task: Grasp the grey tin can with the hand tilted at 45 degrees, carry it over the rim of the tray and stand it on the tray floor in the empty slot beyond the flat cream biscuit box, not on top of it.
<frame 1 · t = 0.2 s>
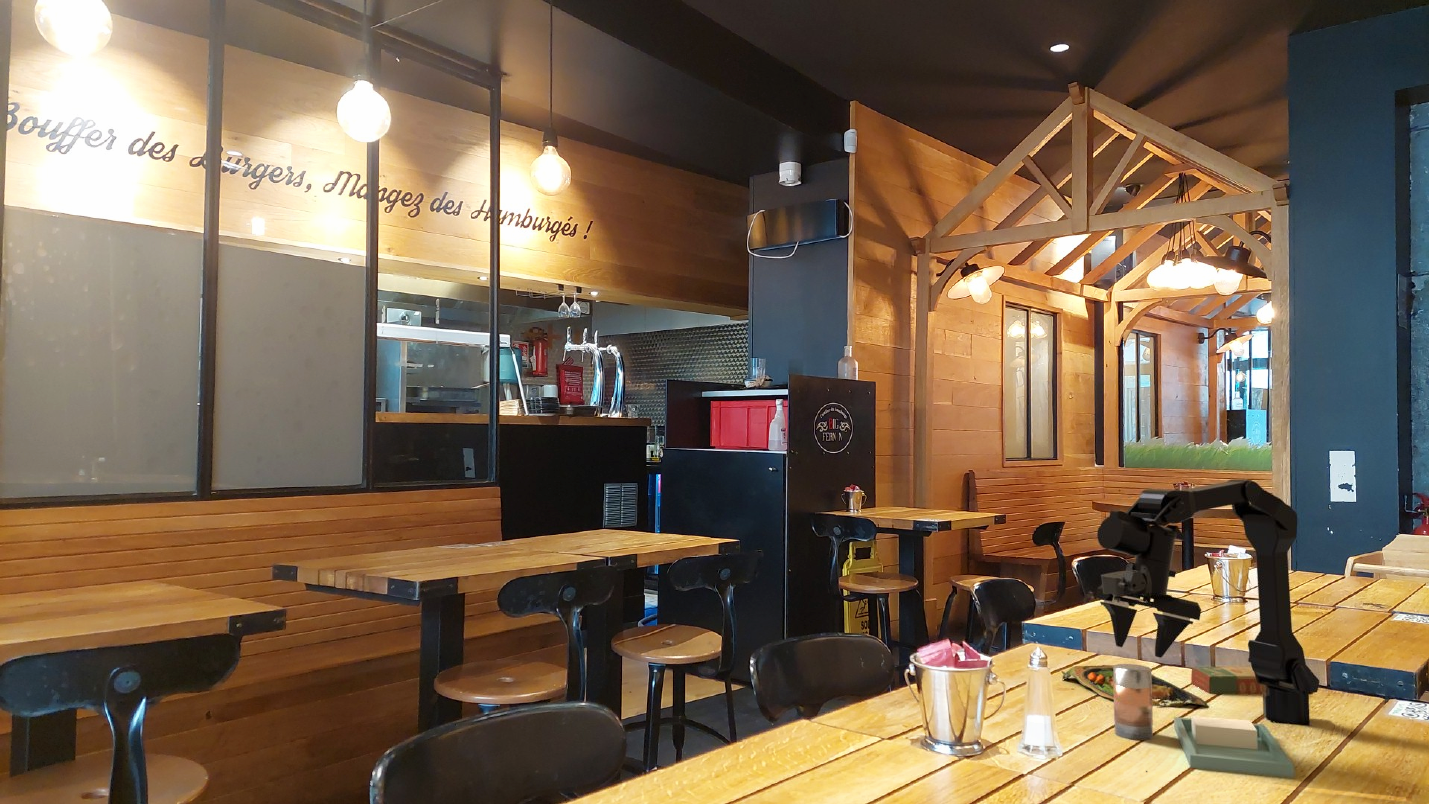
hand: (1138, 651, 162), 15 cm above the table, tool pointing down, fingers open, 9 cm apart
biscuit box: (1223, 741, 161), point 1 cm above the table, touching tray
tray: (1229, 754, 156), on the table
prepared meal: (1132, 695, 196), on the table
tin can: (1133, 738, 165), on the table
carton: (1239, 692, 197), on the table
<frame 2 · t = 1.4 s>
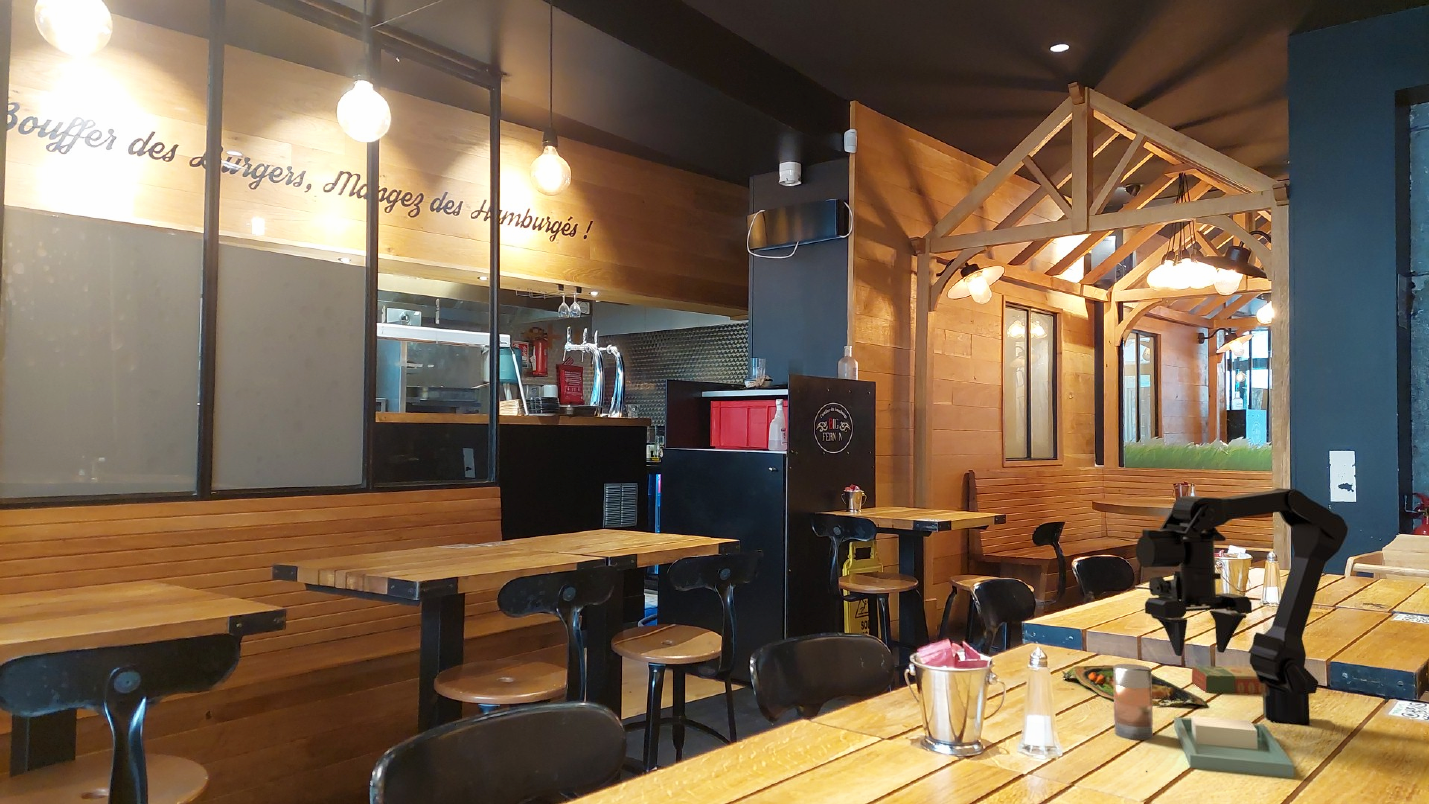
hand: (1199, 654, 171), 13 cm above the table, tool pointing down, fingers open, 9 cm apart
nothing on the table moved.
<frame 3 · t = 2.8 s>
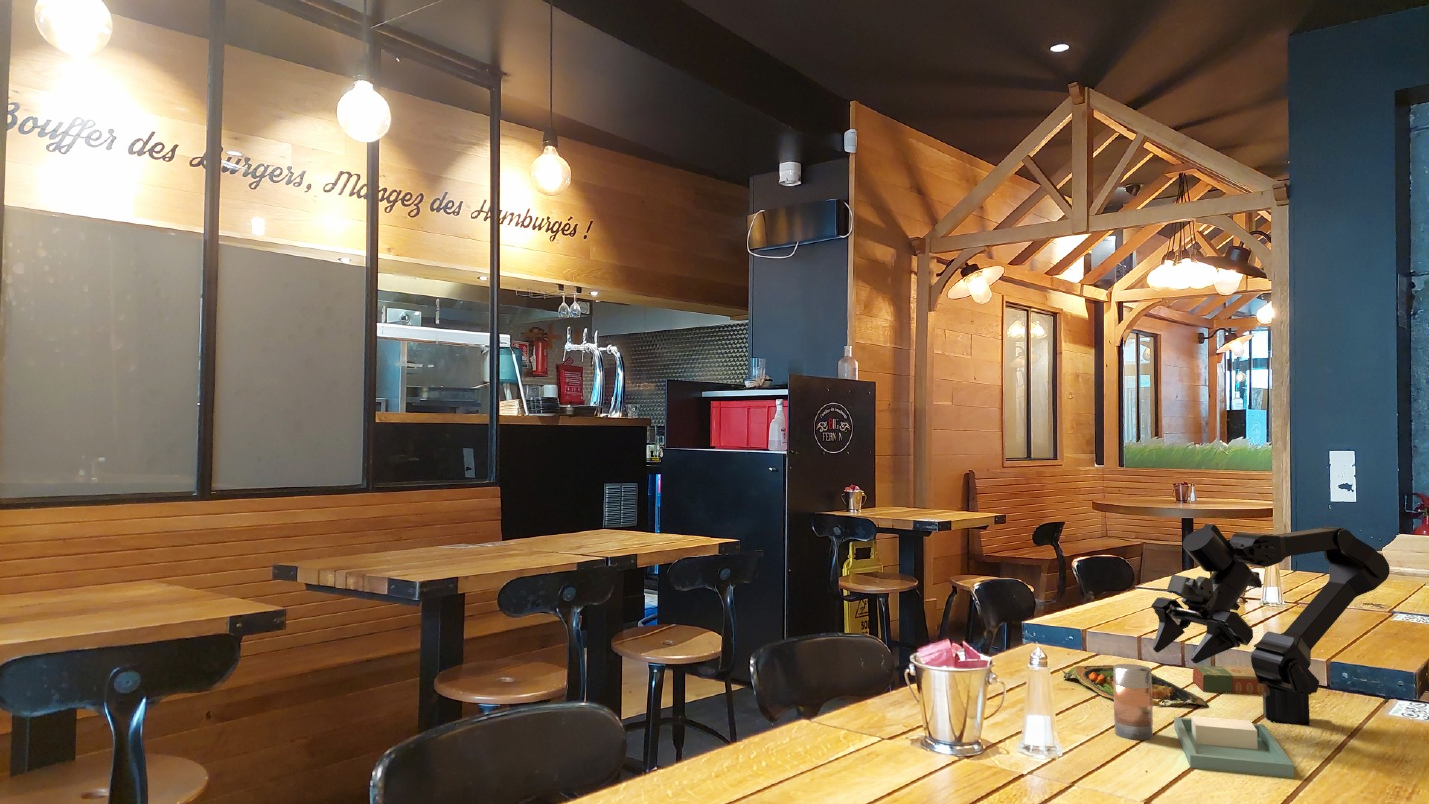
hand: (1173, 656, 168), 13 cm above the table, tool tilted 45°, fingers open, 9 cm apart
nothing on the table moved.
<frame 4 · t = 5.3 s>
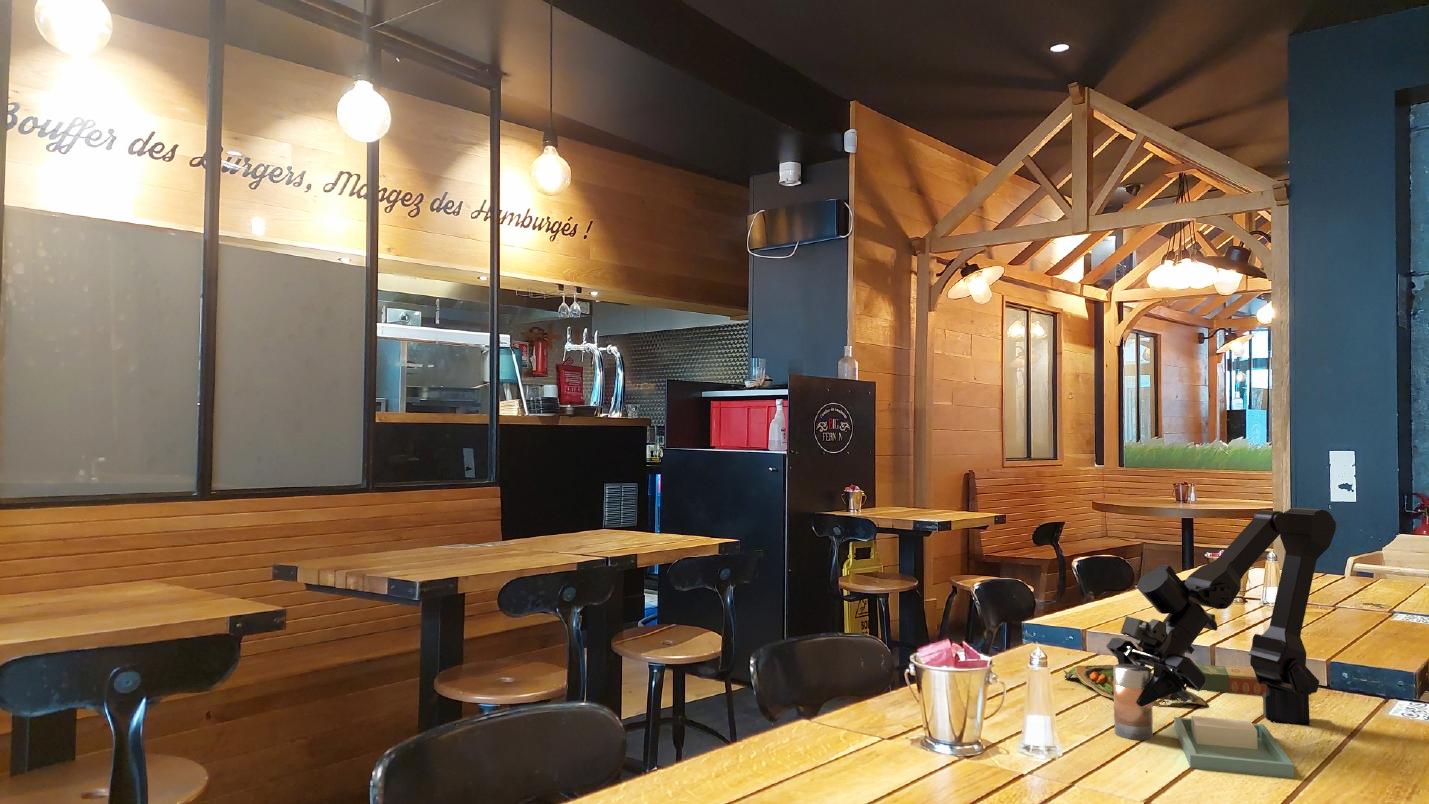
hand: (1125, 700, 164), 7 cm above the table, tool tilted 45°, fingers closed on tin can, 6 cm apart
tin can: (1133, 738, 165), on the table, touching gripper
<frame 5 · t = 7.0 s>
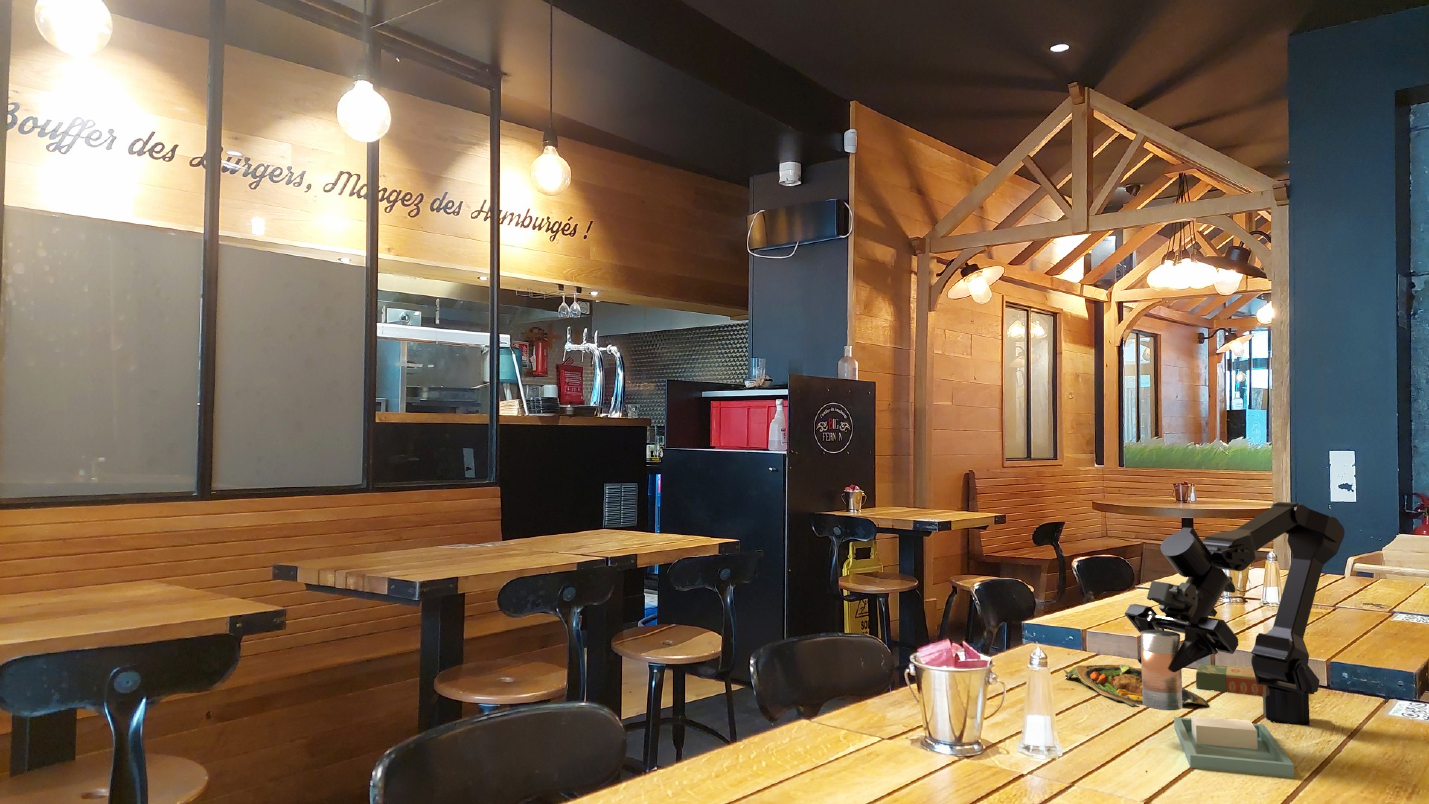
hand: (1155, 666, 160), 13 cm above the table, tool tilted 45°, fingers closed on tin can, 6 cm apart
tin can: (1162, 705, 160), point 7 cm above the table, touching gripper
when the fingers open (8 cm above the table, at t = 9.0 s): tin can drops 1 cm, resting on tray.
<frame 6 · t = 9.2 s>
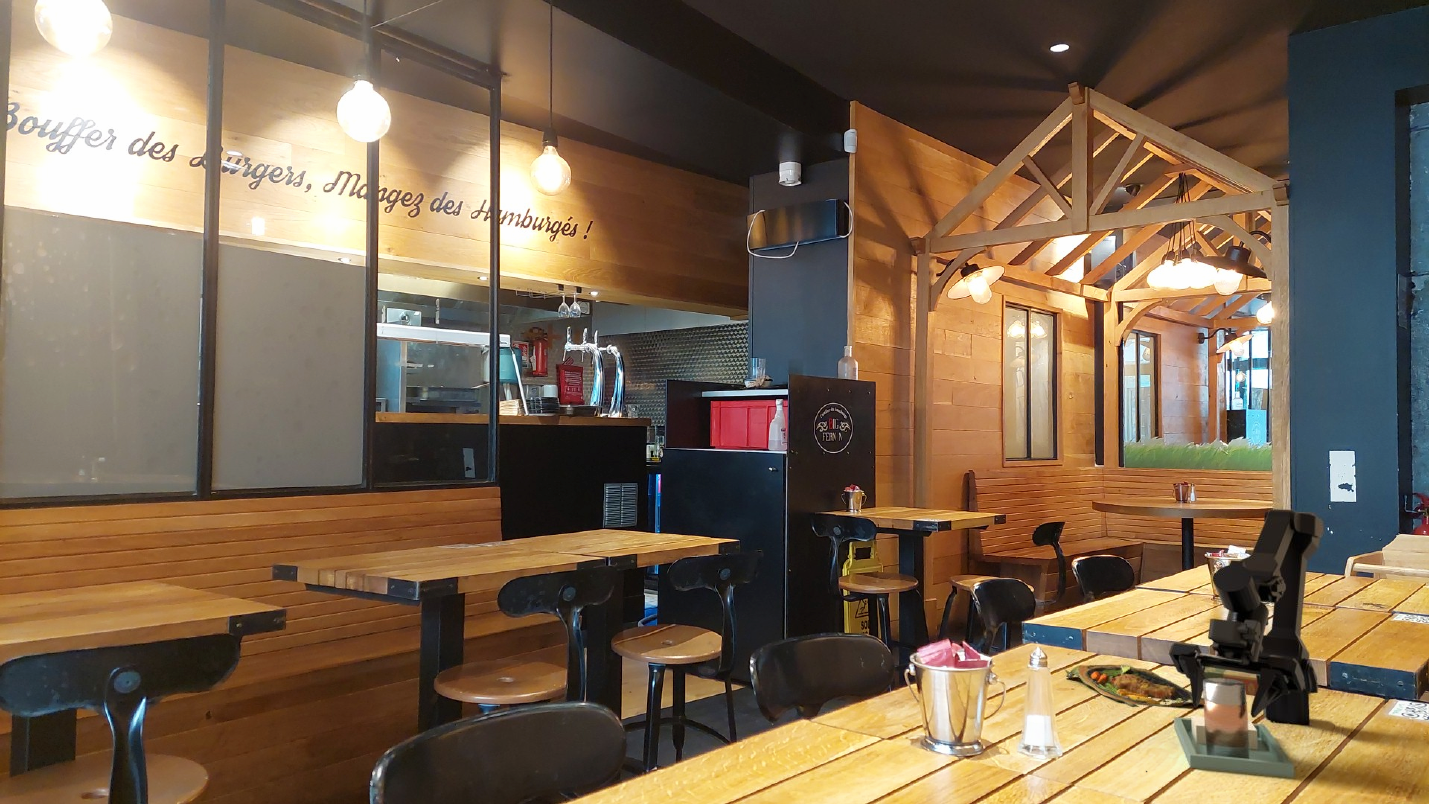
hand: (1223, 710, 151), 9 cm above the table, tool tilted 45°, fingers open, 8 cm apart
tin can: (1227, 759, 151), point 1 cm above the table, touching tray
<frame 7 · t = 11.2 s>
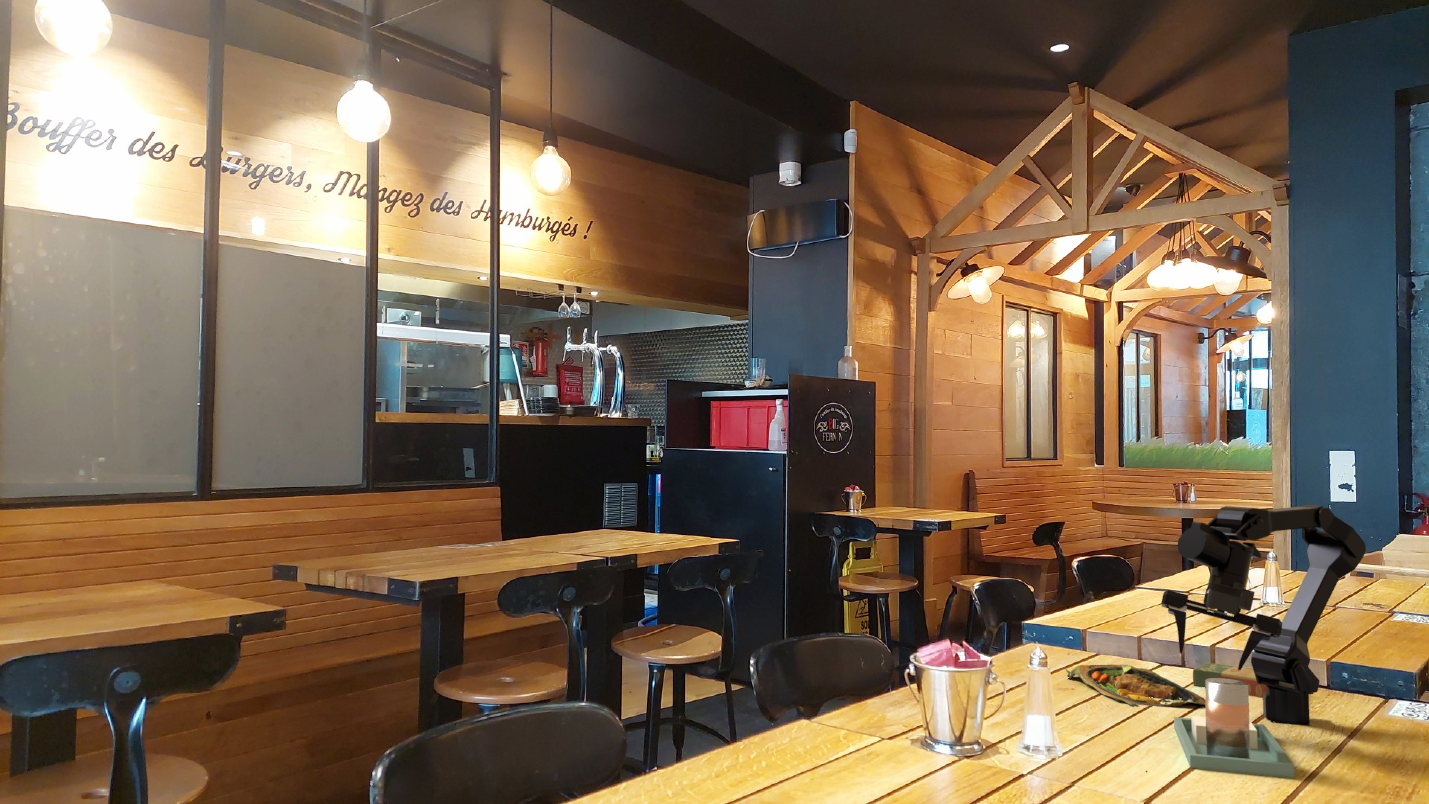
hand: (1209, 661, 167), 13 cm above the table, tool tilted 20°, fingers open, 9 cm apart
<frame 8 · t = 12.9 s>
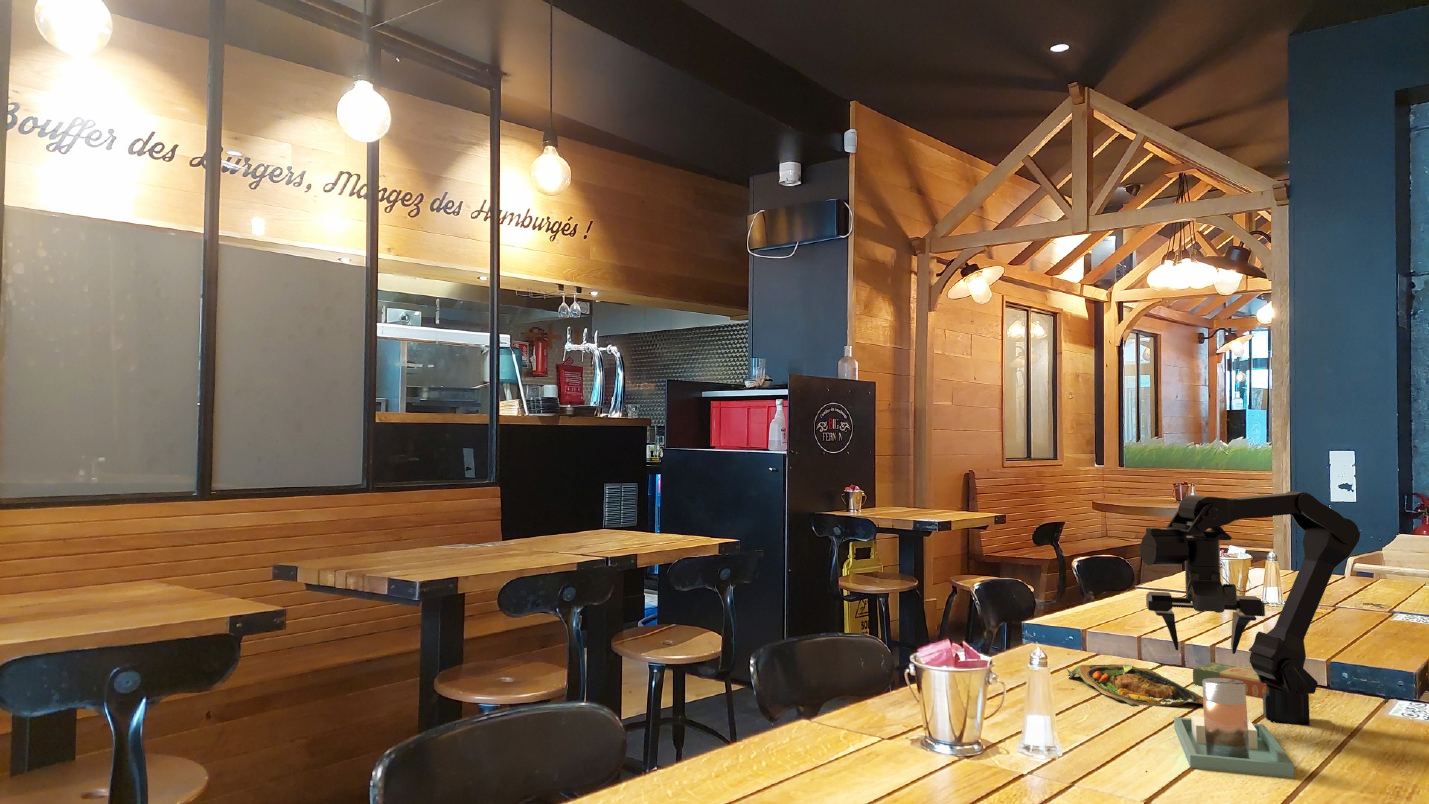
hand: (1204, 651, 173), 13 cm above the table, tool pointing down, fingers open, 9 cm apart
at the end: tin can inside the target area on the tray (5.0 cm from its centre), point 0.7 cm above the tray's base; tin can tilted 2°; tin can touching tray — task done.
